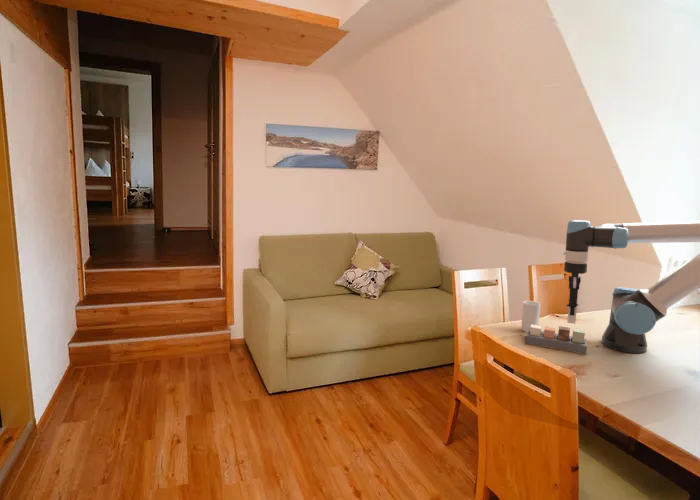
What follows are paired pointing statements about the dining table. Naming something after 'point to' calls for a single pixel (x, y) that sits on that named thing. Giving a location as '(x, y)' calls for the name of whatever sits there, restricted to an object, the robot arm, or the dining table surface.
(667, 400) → the dining table surface
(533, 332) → the key ivory
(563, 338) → the key walnut
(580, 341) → the key sage
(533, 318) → the mug
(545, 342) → the grey slotted rack
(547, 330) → the key terracotta
